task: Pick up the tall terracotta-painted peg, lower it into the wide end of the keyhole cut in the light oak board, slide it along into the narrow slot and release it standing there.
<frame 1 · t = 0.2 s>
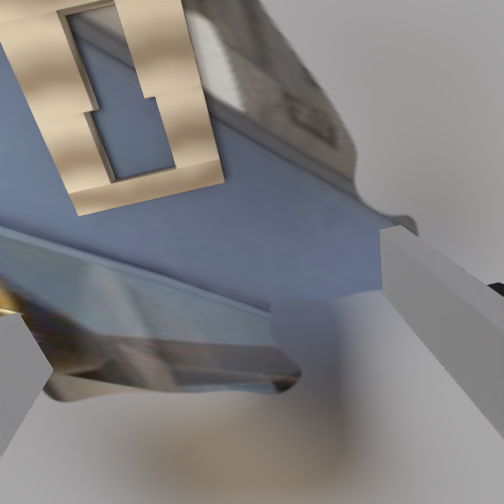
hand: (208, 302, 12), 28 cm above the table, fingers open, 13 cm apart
keyhole board: (118, 87, 34), on the table
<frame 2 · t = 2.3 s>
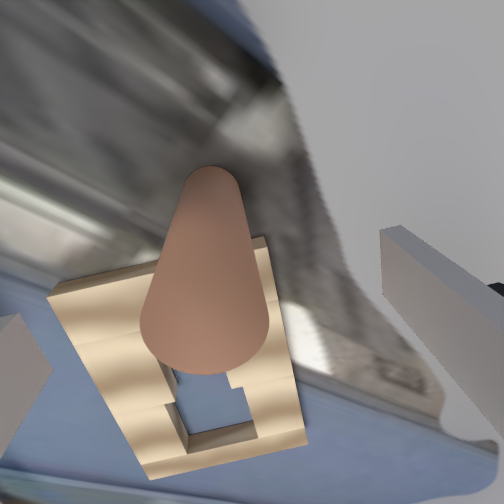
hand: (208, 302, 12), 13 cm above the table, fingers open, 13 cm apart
keyhole board: (199, 365, 31), on the table
peg: (211, 194, 24), on the table
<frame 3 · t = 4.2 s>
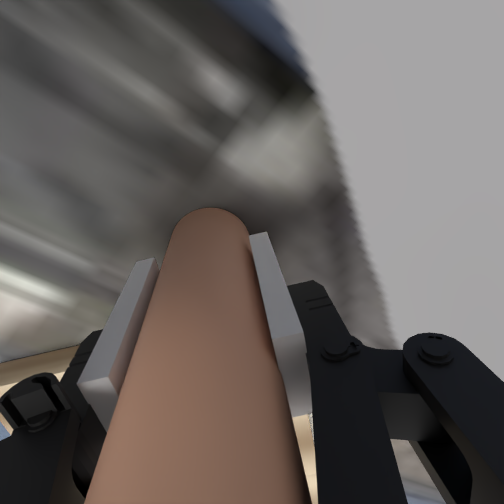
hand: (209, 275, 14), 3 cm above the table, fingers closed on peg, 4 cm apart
keyhole board: (195, 456, 24), on the table
peg: (211, 245, 17), on the table, touching gripper
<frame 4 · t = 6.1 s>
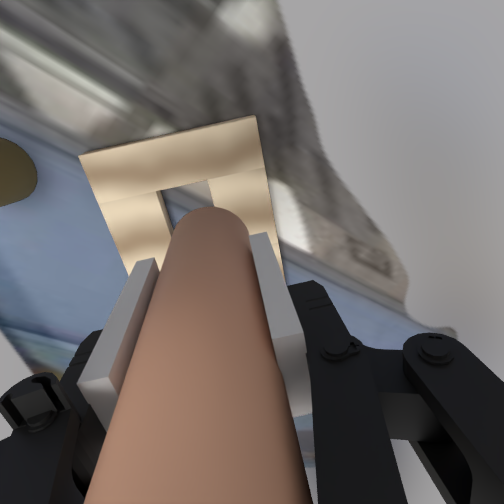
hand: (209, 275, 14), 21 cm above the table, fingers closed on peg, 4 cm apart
keyhole board: (200, 238, 37), on the table
cork: (3, 170, 32), on the table
peg: (211, 244, 17), point 18 cm above the table, touching gripper
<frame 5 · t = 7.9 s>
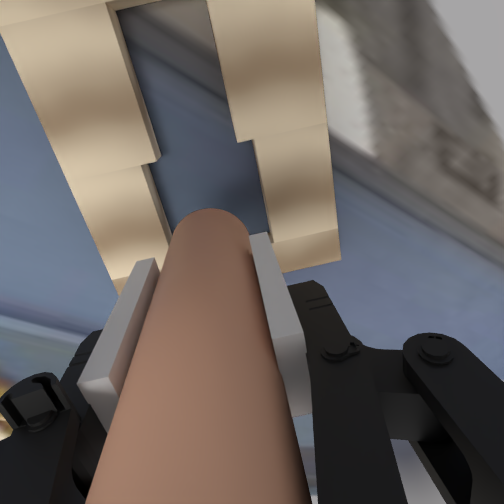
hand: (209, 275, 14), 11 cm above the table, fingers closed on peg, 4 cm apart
keyhole board: (192, 123, 22), on the table
peg: (211, 246, 17), point 7 cm above the table, touching gripper
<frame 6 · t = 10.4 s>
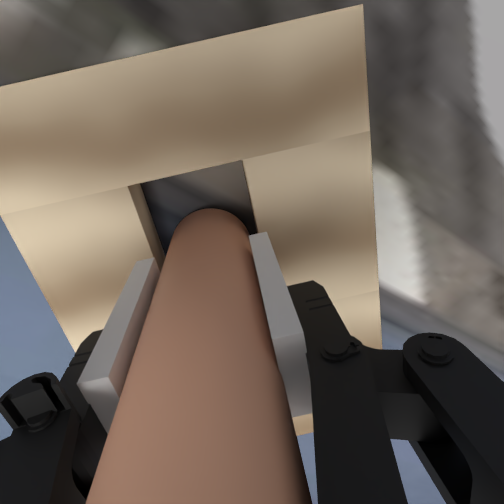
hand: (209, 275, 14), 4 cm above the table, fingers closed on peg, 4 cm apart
keyhole board: (221, 281, 19), on the table
peg: (211, 246, 17), point 1 cm above the table, touching gripper
when the fingers open (4 cm above the table, at t = 11.7 s): peg stays where it is, resting in keyhole board.
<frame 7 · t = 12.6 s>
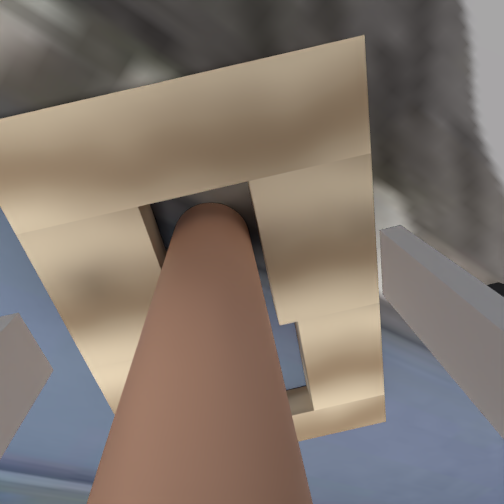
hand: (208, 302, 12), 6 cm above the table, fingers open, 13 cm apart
keyhole board: (226, 293, 20), on the table
peg: (211, 239, 18), resting in keyhole board
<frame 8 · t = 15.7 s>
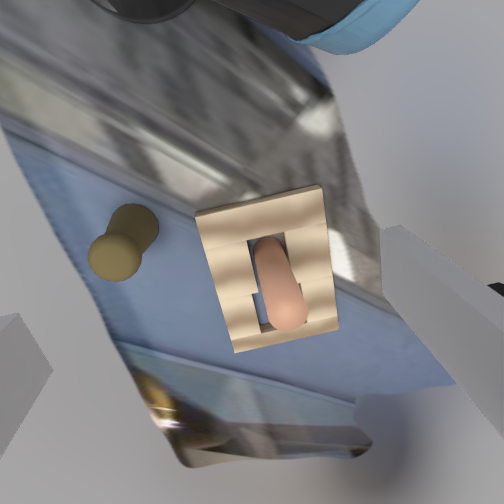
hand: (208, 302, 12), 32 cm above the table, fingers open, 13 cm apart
keyhole board: (271, 272, 48), on the table
cork: (135, 225, 44), on the table
peg: (267, 250, 47), resting in keyhole board
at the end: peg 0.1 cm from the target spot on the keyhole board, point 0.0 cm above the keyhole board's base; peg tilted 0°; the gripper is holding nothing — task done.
